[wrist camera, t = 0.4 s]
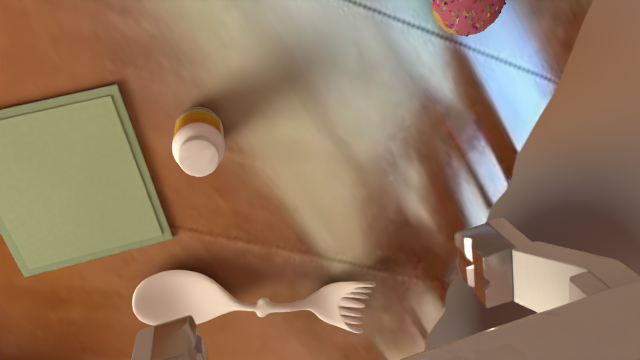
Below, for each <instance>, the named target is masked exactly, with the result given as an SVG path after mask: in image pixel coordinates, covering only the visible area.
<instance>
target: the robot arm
mask: <svg viewBox="0 0 640 360" xmlns="http://www.w3.org/2000/svg"><path fill="white" fill-rule="evenodd" d="M454 239H455V245H456V246H457V247H458V248H459V252H458V254H457V256H456V259H457V266H458V269H459V271H460V274H461V276H462V277H463V279H464V281H465V282H466V283H467V284H468V286H471V287H474V288H475V294H476V296H477V297H478V298H479V299H480V300H481V302H482V303H483V304H484V305H485V306H486V307H487V308H489V307H493V306H496V305H499V304H503V303H506V302H509V301H512V300H514V301H515V302H517V303H519V304H521V305H523V306H525V307H527V308H530V309H532V310H534V311H536V312H538V313H537V314H534V315H531V316H528V317H525V318H522V319H519V320H516V321H513V322H510V323H507V324H504V325H501V326H498V327H495V328H492V329H490V330H486V331H483V332H480V333H477V334H474V335H471V336H469V337H466V338H463V339H460V340H457V341H454V342H451V343H448V344H445V345H442V346H439V347H436V348H433V349H430V350H427V351H424V352H421V353H418V354H415V355H412V356H409V357H406V358H403V359H400V360H640V276H639V275H638V274H636V273H635V272H633V271H632V270H631V269H629V268H628V267H626V266H625V265H623V264H622V263H621V262H619V261H617V260H615V259H611V258H606V257H602V256H598V255H593V254H589V253H585V252H580V251H577V250H572V249H568V248H564V247H560V246H555V245H551V244H547V243H543V242H538V241H537V242H531V241H530V240H529V239H528V238H527V237H525V236H524V235H523V234H522V233H521V232H519V231H518V230H517V229H516V228H514V227H513V226H512V225H511V224H510V223H508V222H507V221H506V220H505V219H504V218H498V219H495V220H492V221H489V222H486V223H485V224H481V225H478V226H475V227H472V228H469V229H466V230H463V231H460V232H456V233H455V237H454ZM132 360H208V357H207V351H206V348H205V345H204V342H203V340H202V337H200V336H198V335H197V325H196V323H195V321H194V319H193V317H192V316H191V315H188V316H185V317H181V318H178V319H174V320H171V321H167V322H164V323H160V324H157V325H154V326H150V327H147V328H144V329H141V330H139V331H138V332H137V334H136V339H135V345H134V350H133V355H132Z"/></svg>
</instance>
